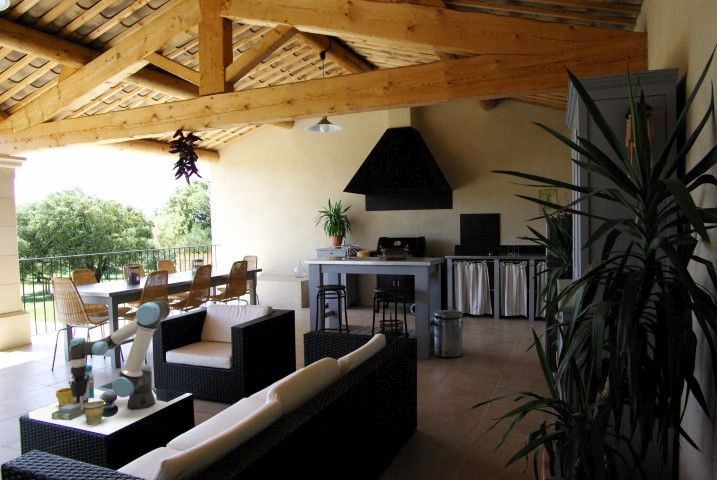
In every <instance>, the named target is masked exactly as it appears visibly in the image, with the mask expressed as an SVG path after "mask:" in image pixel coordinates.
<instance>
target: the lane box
mask: <svg viewBox="0 0 717 480" xmlns="http://www.w3.org/2000/svg"><path fill="white" fill-rule="evenodd" d="M102 400H103V399H101V400H100V401H102ZM86 403H89V398H87V399H83V405H84V404H86ZM74 404H77V403H76V402H74ZM83 415H85V413H84V409H83V408H81V409H80V410H78V411H76V412H74V413H71V414H62V413H59V411H58V410H57V411H54V412H51V420H60V421H61V420H62V421H63V420H64V421H72V420H74V419H76V418H78V417H80V416H83Z"/></svg>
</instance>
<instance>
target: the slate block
mask: <svg viewBox="0 0 717 480" xmlns="http://www.w3.org/2000/svg"><path fill="white" fill-rule="evenodd" d="M80 409H81V405H80V404H75V403H74V404H67V405H65V406H59V407H58V410H57V411H59V413H62V414H71V413H74V412H76V411H78V410H80Z"/></svg>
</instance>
